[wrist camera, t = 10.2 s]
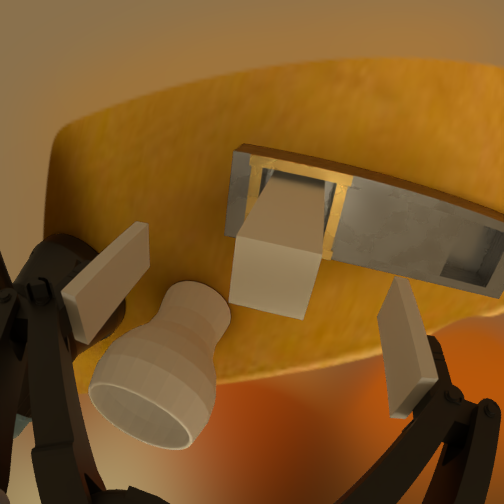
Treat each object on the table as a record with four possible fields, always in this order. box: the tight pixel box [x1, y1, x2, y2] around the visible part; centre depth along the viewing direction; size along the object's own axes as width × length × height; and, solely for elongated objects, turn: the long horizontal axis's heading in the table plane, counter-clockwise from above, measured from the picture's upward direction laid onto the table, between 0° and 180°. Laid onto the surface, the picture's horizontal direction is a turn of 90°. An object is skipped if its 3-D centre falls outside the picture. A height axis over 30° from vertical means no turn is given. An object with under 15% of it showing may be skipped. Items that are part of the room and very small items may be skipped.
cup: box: [89, 281, 231, 450], centre depth 29 cm, size 11×11×15 cm
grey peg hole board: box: [224, 144, 504, 299], centre depth 24 cm, size 26×7×3 cm, turn 82°
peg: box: [229, 170, 325, 320], centre depth 21 cm, size 4×4×12 cm
